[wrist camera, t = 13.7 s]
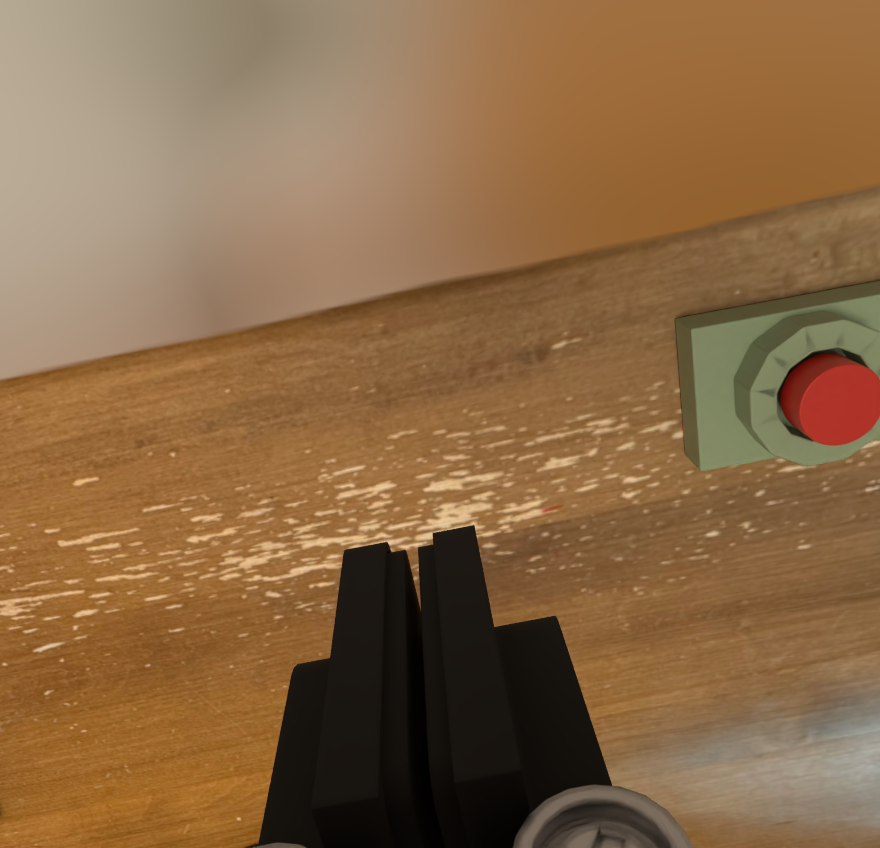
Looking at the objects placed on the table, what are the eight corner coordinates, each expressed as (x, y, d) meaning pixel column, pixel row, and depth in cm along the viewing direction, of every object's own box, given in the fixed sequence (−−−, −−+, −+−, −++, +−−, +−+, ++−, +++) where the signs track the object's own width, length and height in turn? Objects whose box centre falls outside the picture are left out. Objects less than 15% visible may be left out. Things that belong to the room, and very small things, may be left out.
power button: (779, 361, 33) (798, 373, 31) (862, 346, 33) (886, 356, 31) (780, 438, 34) (799, 453, 32) (861, 423, 34) (884, 437, 32)
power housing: (674, 318, 36) (705, 339, 32) (888, 278, 35) (945, 294, 32) (684, 454, 38) (714, 488, 34) (884, 418, 38) (937, 448, 34)
